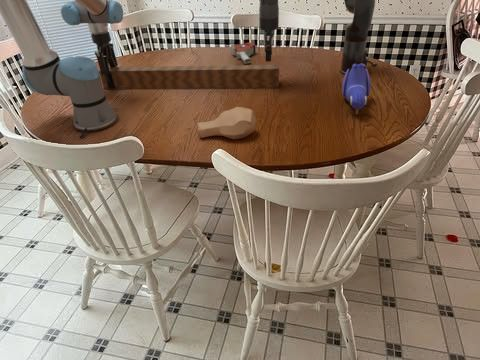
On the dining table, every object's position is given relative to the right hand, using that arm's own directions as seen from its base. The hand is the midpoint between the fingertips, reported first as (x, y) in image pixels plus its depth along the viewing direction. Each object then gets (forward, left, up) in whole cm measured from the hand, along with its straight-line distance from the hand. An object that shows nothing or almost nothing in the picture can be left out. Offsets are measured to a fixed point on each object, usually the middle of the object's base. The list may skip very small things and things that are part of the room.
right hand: (268, 58), depth 147 cm
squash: (+29, +35, -12) cm, 47 cm away
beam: (+32, -14, -12) cm, 37 cm away
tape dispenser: (-2, -42, -12) cm, 44 cm away
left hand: (+64, -29, -11) cm, 71 cm away
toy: (-22, +33, -12) cm, 41 cm away
